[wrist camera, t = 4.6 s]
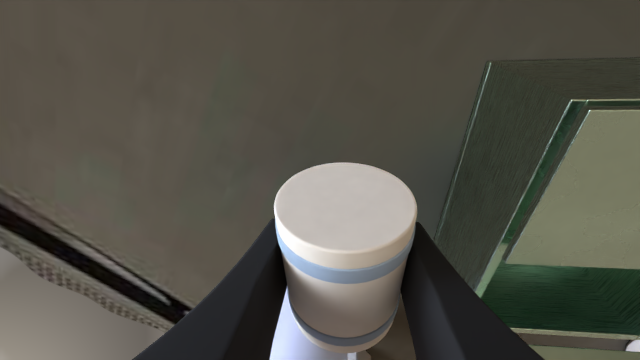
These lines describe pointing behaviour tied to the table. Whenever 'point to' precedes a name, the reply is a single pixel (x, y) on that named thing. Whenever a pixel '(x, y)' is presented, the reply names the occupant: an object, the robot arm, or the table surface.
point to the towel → (344, 251)
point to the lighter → (359, 355)
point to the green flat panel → (583, 353)
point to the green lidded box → (551, 197)
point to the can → (633, 346)
